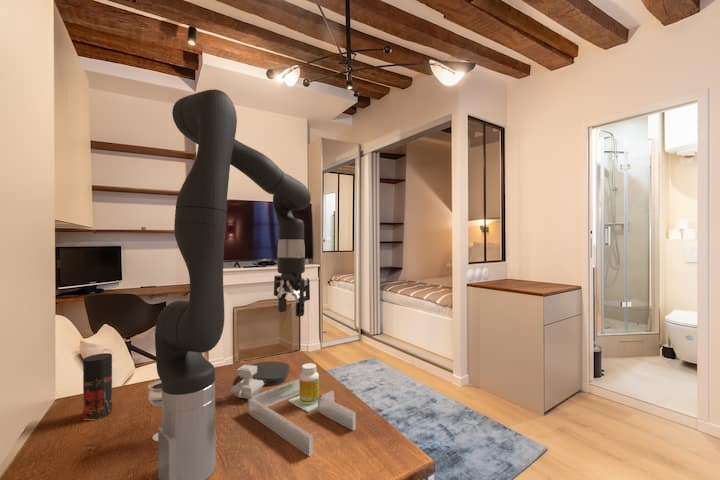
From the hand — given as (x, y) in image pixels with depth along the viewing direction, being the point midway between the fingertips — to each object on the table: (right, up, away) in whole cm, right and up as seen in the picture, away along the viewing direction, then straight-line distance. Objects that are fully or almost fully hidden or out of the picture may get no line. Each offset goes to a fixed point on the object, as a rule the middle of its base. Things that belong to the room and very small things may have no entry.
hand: (290, 313), depth 93 cm
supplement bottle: (+5, -25, 0) cm, 25 cm away
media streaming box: (-12, -25, +18) cm, 34 cm away
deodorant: (-49, -25, -6) cm, 56 cm away
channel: (+5, -25, -8) cm, 27 cm away
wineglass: (-26, -25, -16) cm, 39 cm away
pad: (+5, -25, 0) cm, 25 cm away
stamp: (-13, -25, +4) cm, 29 cm away
